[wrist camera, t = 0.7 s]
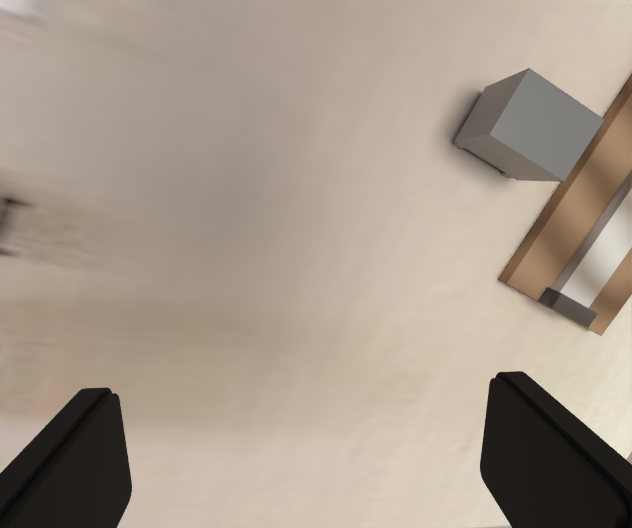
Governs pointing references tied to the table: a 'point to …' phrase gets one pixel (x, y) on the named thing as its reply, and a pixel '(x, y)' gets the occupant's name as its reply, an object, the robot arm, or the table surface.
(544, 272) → the rail board
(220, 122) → the table surface
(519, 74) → the din module
